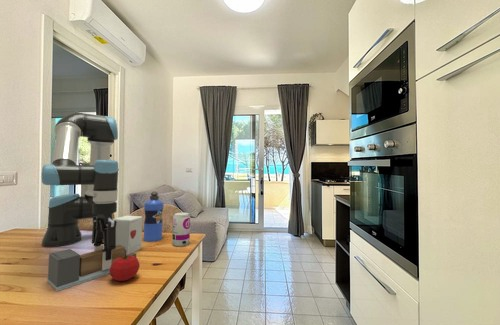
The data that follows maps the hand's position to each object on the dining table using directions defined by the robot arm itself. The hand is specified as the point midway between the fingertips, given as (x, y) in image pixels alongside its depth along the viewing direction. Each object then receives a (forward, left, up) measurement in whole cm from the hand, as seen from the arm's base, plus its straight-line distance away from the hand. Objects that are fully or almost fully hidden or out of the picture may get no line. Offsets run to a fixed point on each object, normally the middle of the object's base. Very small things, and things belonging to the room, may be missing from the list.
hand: (102, 266), depth 81 cm
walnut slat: (0, 0, 0) cm, 1 cm away
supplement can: (-2, +36, -2) cm, 36 cm away
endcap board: (0, -2, -1) cm, 2 cm away
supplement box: (-13, +15, -2) cm, 20 cm away
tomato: (+13, +2, -2) cm, 13 cm away
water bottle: (-20, +32, -2) cm, 38 cm away
